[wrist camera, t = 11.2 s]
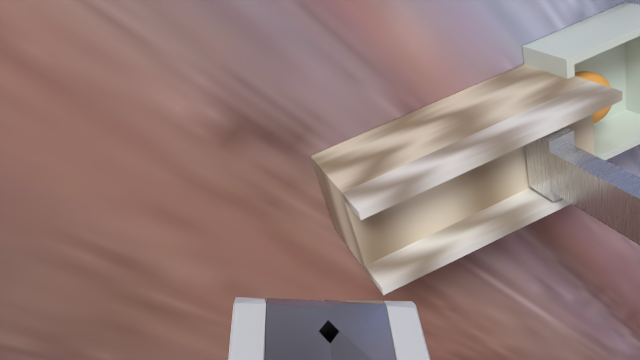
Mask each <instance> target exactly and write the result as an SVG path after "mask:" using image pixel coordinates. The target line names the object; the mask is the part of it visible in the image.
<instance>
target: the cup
mask: <svg viewBox="0 0 640 360" xmlns="http://www.w3.org/2000/svg"><path fill="white" fill-rule="evenodd" d="M522 49H523V59H524V64H525V65H528V66H531V67H534V68H537V69H540V70H543V71H546V72H549V73H551V74H554V75H557V76H560V77H563V78H566V79H569V78H571V77H573V76H575V72H580V71H590V72H594V73H597V74H599V75H601V76H603V77H604V78H605V79H606V80H607V81H608V82H609V84H610V86H611V88H614V89H617V90H620V91H622V97H623V100H622V101H620V102H618V103H615V104H613V105H612V106H611V109H610V110H609V112H608V113H607V115H606V116H605V117H604V118H603V119H601V120H600V121H598V122H596V123H594V124H593V131H594V155H595V156H597V157H599V158H601V159H603V160H607V159H609V158H612V157H614V156H616V155H618V154H620V153H622V152H624V151H626V150H628V149H630V148H633V147H635V146H637V145H639V144H640V5H639V4H633V3H626V2H625V3H623V4H620V5H618V6H616V7H613V8H611V9H609V10H606V11H604V12H602V13H599V14H597V15H595V16H592V17H590V18H587V19H585V20H583V21H580V22H578V23H576V24H573V25H571V26H569V27H566V28H564V29H562V30H559V31H557V32H554V33H552V34H550V35H547V36H545V37H543V38H540V39H538V40H536V41H533V42H531V43H529V44H526V45H524V46H522Z"/></svg>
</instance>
